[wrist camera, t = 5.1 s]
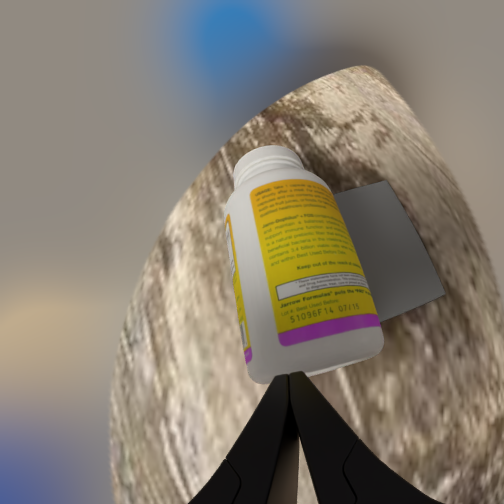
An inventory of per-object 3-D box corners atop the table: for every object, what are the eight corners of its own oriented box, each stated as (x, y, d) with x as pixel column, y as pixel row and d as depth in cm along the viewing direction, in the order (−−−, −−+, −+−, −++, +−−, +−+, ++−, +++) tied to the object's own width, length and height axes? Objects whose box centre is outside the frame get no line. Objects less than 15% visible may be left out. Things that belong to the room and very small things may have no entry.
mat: (443, 295, 15) (445, 293, 15) (259, 359, 16) (257, 358, 16) (385, 183, 20) (386, 180, 20) (230, 227, 21) (229, 224, 21)
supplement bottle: (408, 345, 12) (334, 157, 18) (332, 365, 8) (258, 113, 14) (313, 375, 16) (274, 211, 22) (222, 390, 12) (200, 187, 18)
